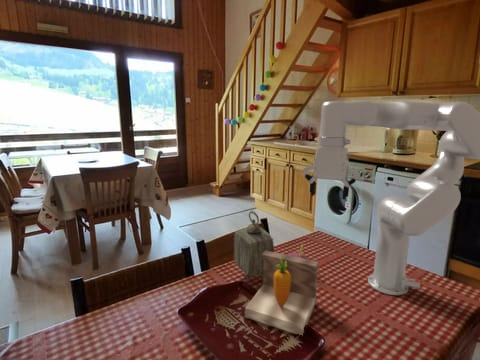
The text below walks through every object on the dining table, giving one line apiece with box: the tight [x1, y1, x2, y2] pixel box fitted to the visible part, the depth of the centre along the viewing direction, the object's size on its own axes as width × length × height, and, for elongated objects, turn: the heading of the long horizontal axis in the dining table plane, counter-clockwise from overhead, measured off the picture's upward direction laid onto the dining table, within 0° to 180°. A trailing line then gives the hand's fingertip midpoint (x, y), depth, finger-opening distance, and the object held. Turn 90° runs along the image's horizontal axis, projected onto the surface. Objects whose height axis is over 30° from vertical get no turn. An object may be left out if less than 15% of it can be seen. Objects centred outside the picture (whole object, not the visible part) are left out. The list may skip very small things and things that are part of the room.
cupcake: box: [287, 243, 310, 260], centre depth 112 cm, size 9×8×12 cm
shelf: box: [244, 250, 319, 337], centre depth 89 cm, size 17×16×15 cm
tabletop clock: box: [233, 210, 275, 281], centre depth 105 cm, size 14×9×25 cm, turn 25°
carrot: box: [274, 258, 291, 307], centre depth 85 cm, size 5×5×15 cm
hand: (328, 196), depth 95 cm, fingers open, 9 cm apart
